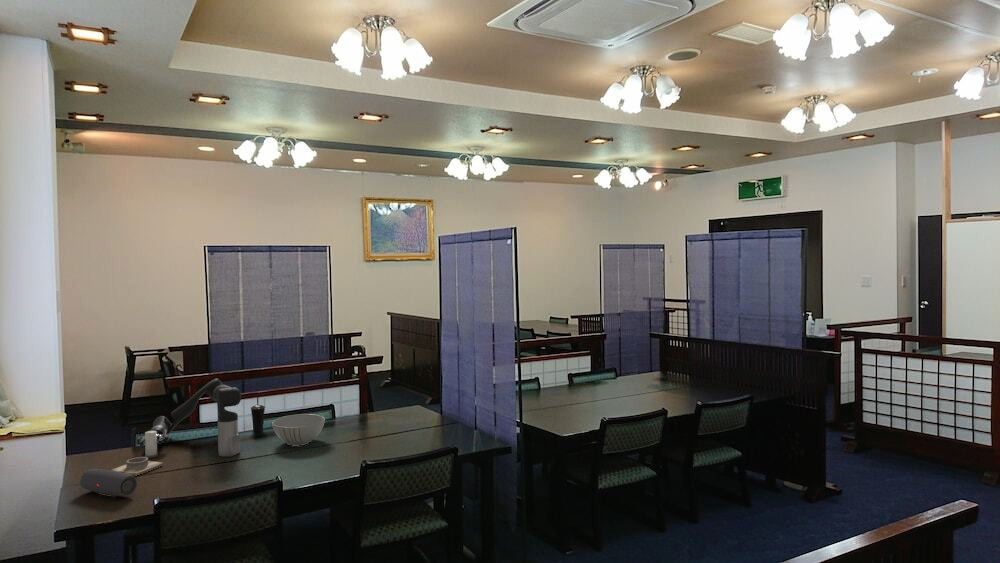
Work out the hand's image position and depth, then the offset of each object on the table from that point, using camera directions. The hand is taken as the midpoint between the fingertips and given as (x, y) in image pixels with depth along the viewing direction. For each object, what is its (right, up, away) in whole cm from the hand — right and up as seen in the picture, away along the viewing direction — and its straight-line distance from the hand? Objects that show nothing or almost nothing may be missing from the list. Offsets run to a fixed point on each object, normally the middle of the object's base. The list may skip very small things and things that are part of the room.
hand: (150, 443), depth 306 cm
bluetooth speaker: (+9, -10, -47) cm, 48 cm away
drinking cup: (+35, -5, +46) cm, 58 cm away
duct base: (+4, -8, -17) cm, 19 cm away
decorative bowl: (+65, -6, +24) cm, 70 cm away
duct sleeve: (-1, -7, +2) cm, 7 cm away
